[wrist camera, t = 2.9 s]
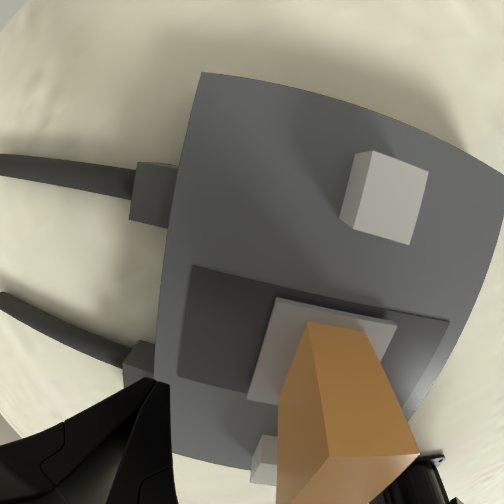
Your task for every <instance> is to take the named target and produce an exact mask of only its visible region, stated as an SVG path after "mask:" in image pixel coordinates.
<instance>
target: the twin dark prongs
mask: <svg viewBox="0 0 504 504" xmlns="http://www.w3.org/2000/svg"><path fill="white" fill-rule="evenodd" d="M0 175H2V176H7V177H13V178H19V179H25V180H30V181H36V182H42V183H47V184H52V185H58V186H63V187H68V188H74V189H79V190H84V191H89V192H94V193H99V194H104V195H109V196H114V197H119V198H124V199H129V200H132V193H133V187H134V181H135V175H136V170H130V169H124V168H117V167H111V166H104V165H97V164H90V163H83V162H75V161H68V160H59V159H51V158H42V157H32V156H22V155H10V154H0ZM0 309H1V310H2V311H4V312H6V313H7V314H9V315H11V316H12V317H14V318H16V319H17V320H19V321H21V322H23V323H24V324H26V325H28V326H30V327H32V328H33V329H35V330H37V331H39V332H41V333H43V334H45V335H47V336H49V337H51V338H53V339H55V340H57V341H59V342H61V343H63V344H65V345H67V346H69V347H71V348H73V349H76V350H78V351H80V352H82V353H84V354H87V355H89V356H91V357H94V358H96V359H98V360H101V361H103V362H106V363H108V364H111V365H113V366H116V367H118V368H121V369H123V361H124V360H125V359H126V357H127V356H128V355H129V353H130V352H131V351H132V349H131V348H128V347H126V346H123V345H120V344H117V343H115V342H112V341H109V340H107V339H104V338H102V337H99V336H97V335H94V334H92V333H89V332H87V331H84V330H82V329H80V328H77V327H75V326H73V325H70V324H68V323H66V322H64V321H61V320H59V319H57V318H55V317H53V316H51V315H49V314H46V313H44V312H42V311H40V310H38V309H36V308H34V307H32V306H30V305H28V304H26V303H24V302H23V301H21V300H19V299H17V298H15V297H13V296H11V295H10V294H8V293H6V292H0Z"/></svg>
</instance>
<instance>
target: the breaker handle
mask: <svg viewBox="0 0 504 504" xmlns="http://www.w3.org/2000/svg"><path fill="white" fill-rule="evenodd" d="M396 328H397V324H396V323H395V322H394V321H390V320H384V319H379V318H374V317H369V316H364V315H358V314H353V313H348V312H344V311H339V310H334V309H329V308H324V307H319V306H315V305H310V304H305V303H301V302H296V301H292V300H287V299H283V298H278V297H276V299H275V303H274V306H273V310H272V313H271V317H270V320H269V324H268V327H267V330H266V334H265V337H264V341H263V344H262V347H261V351H260V354H259V357H258V361H257V364H256V367H255V370H254V374H253V377H252V380H251V383H250V386H249V390H248V393H247V400H252V401H257V402H262V403H268V404H274V405H278V452H277V489H276V504H368V503H369V502H370V501H371V500H373V499H374V498H375V497H376V496H377V495H378V494H380V493H381V492H382V491H383V490H384V489H385V488H386V487H387V486H388V485H390V484H391V483H392V482H393V481H394V480H395V479H396V478H397V477H398V476H399V475H400V474H401V473H402V472H403V471H404V470H405V469H406V468H407V467H408V466H409V465H410V464H411V463H412V462H413V461H414V460H415V459H416V457H417V456H418V455H419V454H420V452H419V449H418V447H417V444H416V442H415V439H414V437H413V434H412V432H411V430H410V427H409V425H408V423H407V420H406V418H405V416H404V413H403V411H402V409H401V407H400V404H399V402H398V400H397V398H396V395H395V393H394V391H393V389H392V387H391V384H390V382H389V380H388V378H387V376H386V374H385V372H384V369H383V367H382V365H381V363H380V362H381V360H382V358H383V356H384V354H385V352H386V350H387V348H388V346H389V343H390V341H391V339H392V337H393V335H394V333H395V331H396Z"/></svg>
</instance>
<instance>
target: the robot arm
mask: <svg viewBox="0 0 504 504" xmlns="http://www.w3.org/2000/svg"><path fill="white" fill-rule="evenodd" d="M444 460H445V456H444V455H436V456H429V457H421V458H416V459H415V460H414V461H413V462H412V463H411V464H410V465H409V466H408V467H407V468H406V469H405V470H404V471H403V472H402V473H401V474H400V475H399V476H398V477H397V478H396V479H395V480H394V481H393V482H392V483H391V484H390V485H388V486H387V487H386V488H385V489H384V490H383V491H382V492H381V493H380V494H378V495H377V496H376V497H375V498H374V499H373V500H371V501H370V502H369V504H464V503H463V502H461V501H460V500H459V499H458V498H457V497H455V498H453V499H452V500H450V502H449V499H448V496H447V493H446V491H445V488H444V486H443V483H442V480H441V478H440V475H439V473H438V470H437V467H438V466H439V465H440V464H441V463H442V462H443V461H444ZM0 504H178V500H177V496H176V490H175V483H174V472H173V459H172V440H171V410H170V385H169V384H167V383H164V382H161V381H158V382H157V380H155V379H152V378H149V377H143V378H141V379H139V380H138V381H136V382H134V383H133V384H131V385H129V386H127V387H126V388H124V389H122V390H120V391H118V392H117V393H115V394H113V395H111V396H110V397H108V398H106V399H104V400H102V401H101V402H99V403H97V404H95V405H93V406H91V407H90V408H88V409H86V410H84V411H82V412H80V413H78V414H76V415H75V416H73V417H71V418H69V419H67V420H65V421H64V422H61V423H59V424H57V425H55V426H53V427H51V428H49V429H46V430H44V431H42V432H40V433H37V434H34V435H32V436H29V437H26V438H23V439H20V440H17V441H14V442H10V443H7V444H4V445H1V446H0Z"/></svg>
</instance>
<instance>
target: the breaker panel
mask: <svg viewBox="0 0 504 504" xmlns="http://www.w3.org/2000/svg"><path fill="white" fill-rule="evenodd" d="M503 217H504V175H503V174H501V173H500V172H498V171H497V170H495V169H493V168H492V167H490V166H488V165H487V164H485V163H483V162H482V161H480V160H478V159H476V158H475V157H473V156H471V155H469V154H467V153H466V152H464V151H462V150H460V149H458V148H456V147H454V146H452V145H450V144H448V143H446V142H444V141H442V140H440V139H438V138H436V137H434V136H432V135H430V134H428V133H426V132H423V131H421V130H419V129H417V128H414V127H412V126H410V125H407V124H405V123H402V122H400V121H398V120H395V119H393V118H390V117H387V116H385V115H382V114H379V113H377V112H374V111H371V110H368V109H366V108H363V107H360V106H357V105H354V104H351V103H348V102H344V101H341V100H338V99H335V98H331V97H328V96H324V95H321V94H317V93H313V92H309V91H305V90H301V89H297V88H293V87H289V86H284V85H280V84H275V83H270V82H265V81H260V80H254V79H249V78H243V77H236V76H229V75H222V74H214V73H205V72H202V73H201V77H200V80H199V84H198V88H197V91H196V95H195V99H194V103H193V107H192V111H191V115H190V119H189V123H188V127H187V132H186V136H185V141H184V145H183V150H182V155H181V159H180V164H179V166H176V165H170V164H164V163H153V162H138V163H137V169H136V175H135V181H134V187H133V193H132V200H131V208H130V215H129V220H133V221H137V222H142V223H146V224H150V225H154V226H159V227H163V228H167V229H168V232H167V239H166V246H165V254H164V261H163V269H162V277H161V286H160V296H159V306H158V317H157V329H156V343H155V345H154V344H151V343H148V342H144V341H141V340H139V341H138V343H137V344H136V345H135V347H134V348H133V349H132V351H131V352H130V353H129V355H128V356H127V357H126V359H125V360H124V361H123V383H124V388H126V387H127V386H129V385H131V384H133V383H134V382H136V381H138V380H139V379H141V378H143V377H149V378H152V379H155V380H157V382H158V381H161V382H164V383H167V384H169V385H170V410H171V440H172V453H175V454H179V455H182V456H186V457H190V458H193V459H197V460H201V461H205V462H210V463H214V464H219V465H223V466H228V467H233V468H239V469H245V470H251V475H250V483H256V484H264V485H272V486H277V452H278V405H274V404H268V403H262V402H257V401H252V400H247V393H248V390H249V386H250V383H251V380H252V377H253V374H254V370H255V367H256V364H257V361H258V357H259V354H260V351H261V347H262V344H263V341H264V337H265V334H266V330H267V327H268V324H269V320H270V317H271V313H272V310H273V306H274V303H275V299H276V297H278V298H283V299H287V300H292V301H296V302H301V303H305V304H310V305H315V306H319V307H324V308H329V309H334V310H339V311H344V312H348V313H353V314H358V315H364V316H369V317H374V318H379V319H384V320H390V321H394V322H395V323H396V324H397V328H396V331H395V333H394V335H393V337H392V339H391V341H390V343H389V346H388V348H387V350H386V352H385V354H384V356H383V358H382V360H381V362H380V363H381V365H382V367H383V369H384V372H385V374H386V376H387V378H388V380H389V382H390V384H391V387H392V389H393V391H394V393H395V395H396V398H397V400H398V402H399V404H400V407H401V409H402V411H403V413H404V416H405V418H406V420H407V421H408V420H409V419H410V417H411V416H412V415H413V413H414V412H415V410H416V409H417V408H418V406H419V405H420V403H421V402H422V400H423V399H424V397H425V396H426V394H427V393H428V391H429V390H430V388H431V386H432V385H433V383H434V382H435V380H436V378H437V377H438V375H439V373H440V372H441V370H442V368H443V366H444V365H445V363H446V361H447V359H448V358H449V356H450V354H451V352H452V350H453V348H454V346H455V345H456V343H457V341H458V339H459V337H460V335H461V333H462V331H463V329H464V326H465V324H466V322H467V320H468V318H469V316H470V313H471V311H472V309H473V307H474V304H475V302H476V300H477V297H478V295H479V292H480V290H481V287H482V284H483V282H484V279H485V276H486V274H487V271H488V268H489V265H490V262H491V259H492V256H493V253H494V250H495V246H496V243H497V240H498V236H499V232H500V229H501V225H502V221H503Z"/></svg>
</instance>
